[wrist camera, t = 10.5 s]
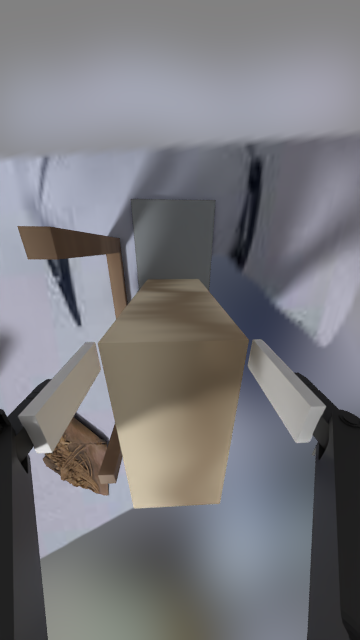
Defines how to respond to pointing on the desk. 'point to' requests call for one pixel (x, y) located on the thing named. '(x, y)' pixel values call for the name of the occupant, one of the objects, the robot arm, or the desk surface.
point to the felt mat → (173, 239)
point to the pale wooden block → (174, 391)
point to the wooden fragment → (79, 457)
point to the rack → (86, 244)
